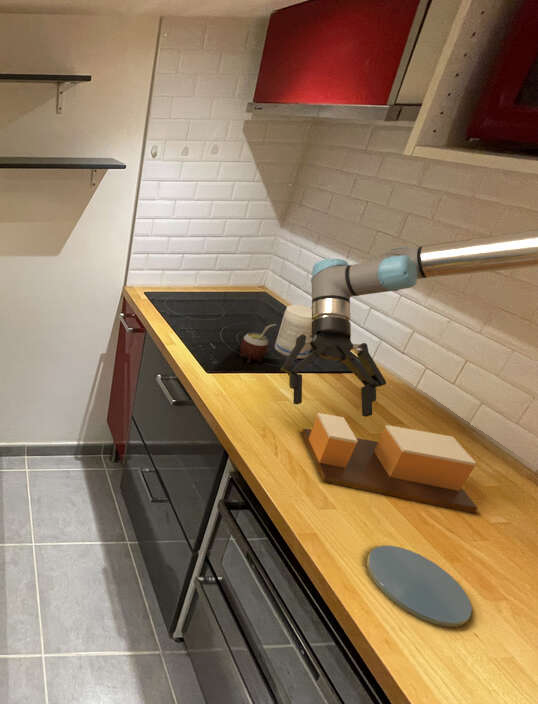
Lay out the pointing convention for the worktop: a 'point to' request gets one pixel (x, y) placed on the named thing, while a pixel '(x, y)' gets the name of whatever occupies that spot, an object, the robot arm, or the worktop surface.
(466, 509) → the serving board
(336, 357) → the robot arm
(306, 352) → the supplement tub
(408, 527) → the worktop surface
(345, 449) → the cake slice
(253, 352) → the mate gourd
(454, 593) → the plate
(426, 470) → the loaf cake
